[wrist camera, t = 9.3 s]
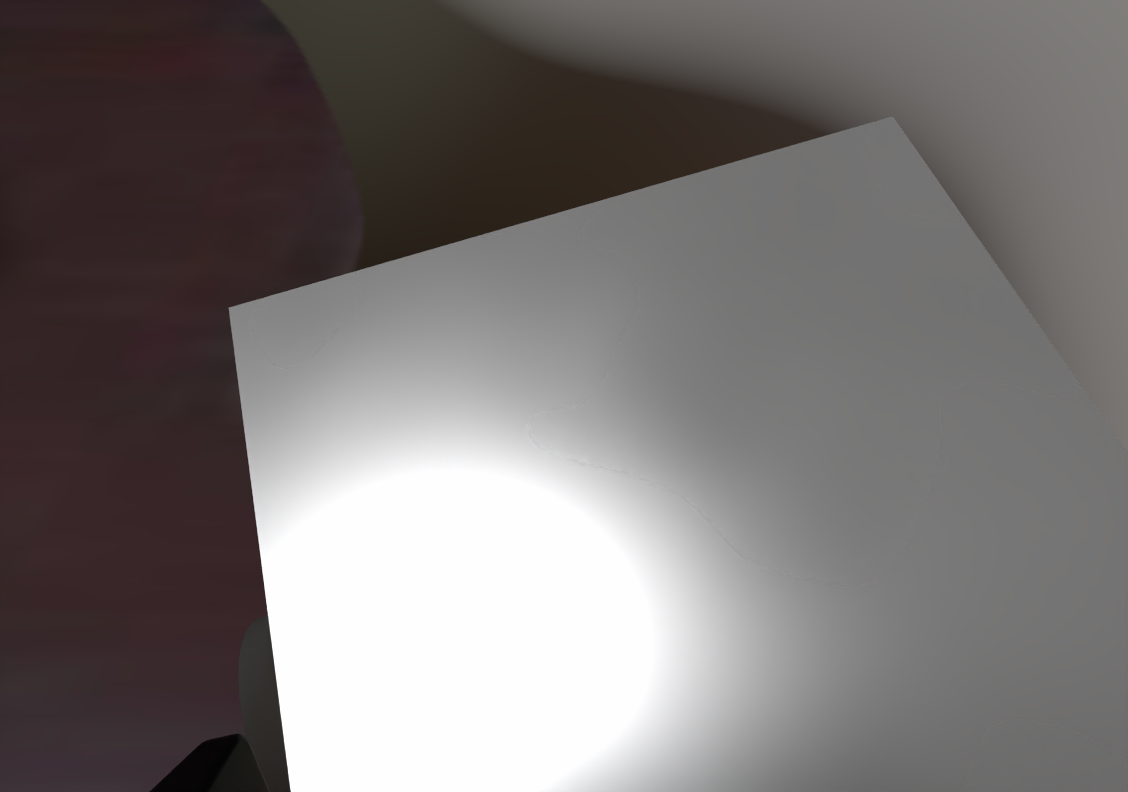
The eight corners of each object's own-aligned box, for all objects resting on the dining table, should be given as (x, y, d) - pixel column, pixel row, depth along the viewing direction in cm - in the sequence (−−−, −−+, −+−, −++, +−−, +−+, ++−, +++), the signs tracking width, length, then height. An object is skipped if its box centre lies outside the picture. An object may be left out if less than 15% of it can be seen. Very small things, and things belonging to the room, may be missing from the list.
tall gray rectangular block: (794, 774, 15) (1423, 878, 3) (561, 857, 15) (356, 1303, 3) (702, 544, 17) (892, 115, 5) (497, 611, 17) (228, 307, 5)
